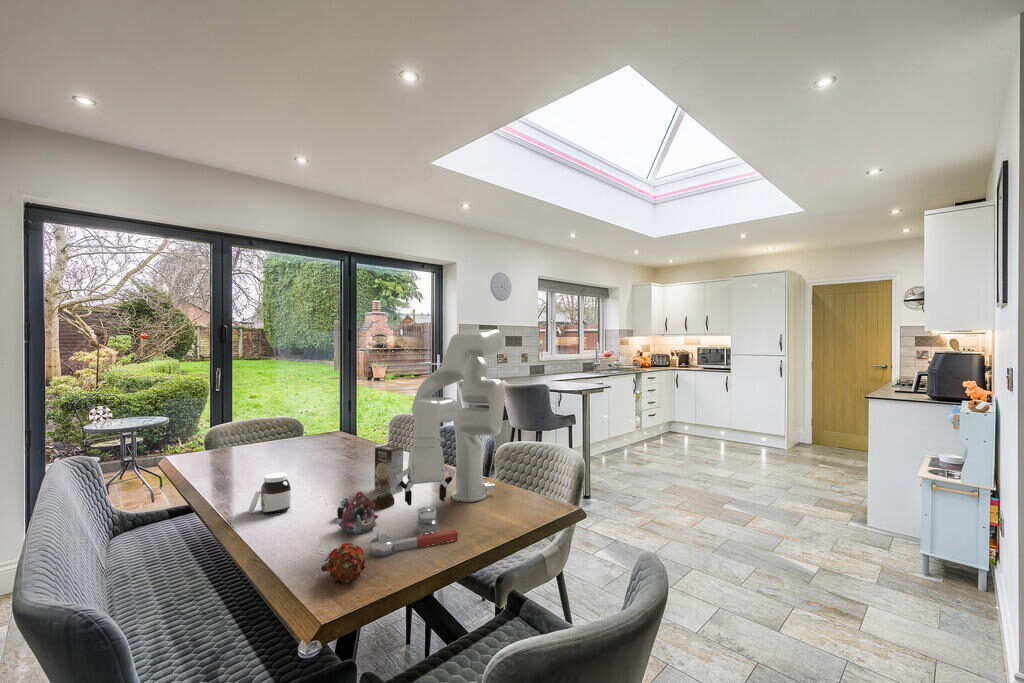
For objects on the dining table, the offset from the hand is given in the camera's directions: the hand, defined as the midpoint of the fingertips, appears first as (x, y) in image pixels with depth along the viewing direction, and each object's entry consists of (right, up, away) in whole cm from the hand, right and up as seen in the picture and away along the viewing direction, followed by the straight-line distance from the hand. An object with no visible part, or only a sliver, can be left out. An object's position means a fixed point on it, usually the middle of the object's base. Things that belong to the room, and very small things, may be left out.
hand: (425, 502), depth 130 cm
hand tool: (-22, -9, +16) cm, 29 cm away
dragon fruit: (-14, -8, -27) cm, 31 cm away
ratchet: (-1, -8, -10) cm, 13 cm away
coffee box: (-21, -9, +37) cm, 44 cm away
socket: (0, -8, +1) cm, 8 cm away
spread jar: (-54, -9, +15) cm, 57 cm away
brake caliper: (-20, -9, +2) cm, 22 cm away
